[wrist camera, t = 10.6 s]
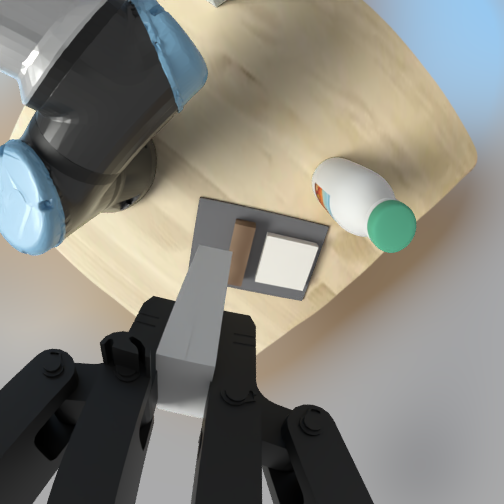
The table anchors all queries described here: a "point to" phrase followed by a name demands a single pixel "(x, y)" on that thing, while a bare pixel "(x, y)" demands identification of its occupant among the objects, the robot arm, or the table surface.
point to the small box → (216, 2)
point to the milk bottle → (363, 203)
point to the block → (240, 250)
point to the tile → (285, 261)
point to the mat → (221, 230)
